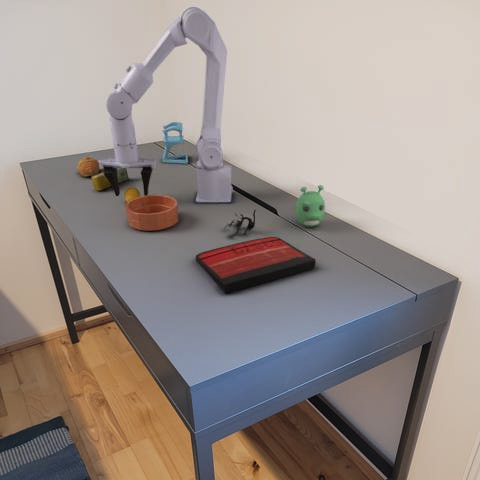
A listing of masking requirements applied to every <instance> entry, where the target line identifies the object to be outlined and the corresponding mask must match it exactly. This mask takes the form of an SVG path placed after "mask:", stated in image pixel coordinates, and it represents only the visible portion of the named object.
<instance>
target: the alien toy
mask: <svg viewBox="0 0 480 480" xmlns="http://www.w3.org/2000/svg"><path fill="white" fill-rule="evenodd" d="M317 188H318V191H313V190H308V191H307V189H308V188H307V187H306V186H302V187H301V188H300V190H299V191H300V192H302V194H301V195H300V196H299V197H298V198H297V201H296V205H295V216H296V219H297V221H298V222H299V223H300V224H301V225H302V226H304V227H307V228H313V227H316V226H317V225H319V224H320V223H321V222H322V220H323V219H324V216H325V212H326V202H325V200H324V198H323V196H322V195H321V194H320V193H321V191H324V189H325V186H324V185H322V184H319V185H317Z"/></svg>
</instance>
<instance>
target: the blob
mask: <svg viewBox="0 0 480 480" xmlns="http://www.w3.org/2000/svg"><path fill="white" fill-rule="evenodd" d="M123 195H124V199H125V201H126V204H127V203H128V202H129V201H131V200H132V199H135V198H137V197H141V192H140V190H139V189H138V188H136V187H133V186H130V187H128V188H126V189H125V191H124V194H123Z"/></svg>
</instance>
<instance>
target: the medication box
mask: <svg viewBox="0 0 480 480" xmlns="http://www.w3.org/2000/svg"><path fill="white" fill-rule="evenodd" d="M117 177H118V184H120V183H123V182H125V181H128V180H130V178H129V173H128V170H127V168H117ZM91 181H92V185H93V190H94V191H103V190H106V189H108V188H111V187H112V186H111V184H110V182H109V181H108V179H107V178H106V177H105V175H104V173H103V172H99V173H97V174H96V175H92V176H91Z"/></svg>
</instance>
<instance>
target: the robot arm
mask: <svg viewBox="0 0 480 480" xmlns="http://www.w3.org/2000/svg"><path fill="white" fill-rule="evenodd" d="M186 39H188V40H189V41H191V42H192V43H194V44H195V45H197V46H198V47H199V49H200V50H201V51H202V52H203V53H204V55H205V58H206V59H205V73H204V74H205V75H204V90H203V106H202V121H201V127H200V134H199V138H198V140H197V142H196V144H195V149H196V152H197V155H198V160H197V162H196V178H197V179H196V180H197V181H196V182H197V194H196V198H195V203H231V202H232V195H233V192H234V191H233V189H234V188H233V185H232V165H231V164H225V163H224V151H223V149H222V134H221V127H222V117H223V116H222V114H223V105H224V104H223V103H224V92H225V82H226V81H225V80H226V70H227V56H228V51H227V50H228V49H227V46H226V44H225V42H224V40H223V38H222V36H221V33H220V32H219V29H218V27H217V25H216V23H215V21H214V20H213V19H212V18H211V17H210V16H209V15H208V14H207V12H205V11H204V10H203V9H201V8H199V7H197V6H190V7H187V8H186V9H185V10H184V11H183V12H182V13H181V17H180V16H178V17H177V18H176V19H175V20H174V21H173V22H172V23H171V24H170V25H169V26H168V27H167V28H166V30H165V31H164V33H163V34H162V35H161V36H160V38H159V40H157V42H156V44H155V45H154V46H153V47H152V49H151V50H150V51H149V53H148V55H147V56H146V58H145V59H144V60H143V61H142V62H135V63H133V64H132V65H128V66H127V67H126V68H125V72H126V73H125V75H124V76H123V77H122V79H121V80H120V81H119V82H118V83H116V82H115V84H114V85H113V89H114V90H112V91H110V93H109V94H108V97H107V99H106V110H107V112H108V114H109V121H110V131H111V137H112V145H113V151H114V157H113V158H100V159H99V160H98V162H99V168H100V169H99V170H103V171H102V173H104V175H105V177H106V178H107V179H108V181H109V182H110V184H111V187H112V190H113V192H114V194H115V197H119V196H120V194H121V190H120V189H121V188H120V183H118V177H117V168H126V169H141V170H140V176H141V180H142V186H143V196H146V195H149V186H150V180H151V177H152V173H153V170H156V169H157V159H156V158H145V157H139V152H138V146H137V137H136V130H135V123H134V121H133V113H132V111H133V105H134V104H138V102H139V101H140V100H141V99H142V97H143V96H144V95H145V94H146V92H147V91H148V90H149V88H150V87H151V86H152V85H153V83H154V72H156V70H157V69H158V68H159V67H160V66H161V64H162V63H163V62H164V61H165V60H166V58H167V57H168V56H169V55H170V54H171V53H172V52H173V51H174V49H175V48H177V47H181V46H185V45H188V42H187V40H186Z"/></svg>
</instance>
